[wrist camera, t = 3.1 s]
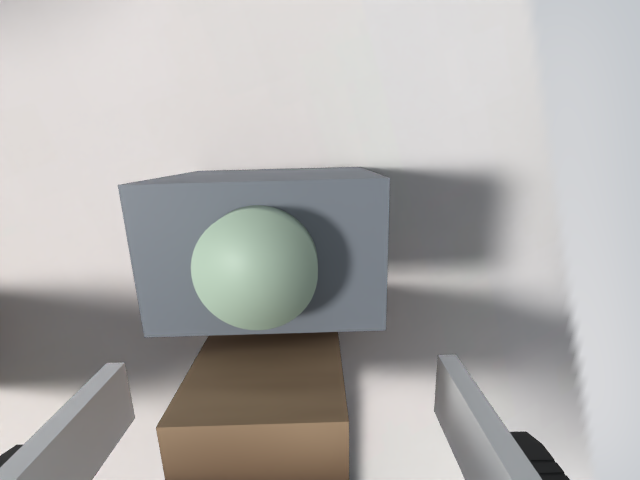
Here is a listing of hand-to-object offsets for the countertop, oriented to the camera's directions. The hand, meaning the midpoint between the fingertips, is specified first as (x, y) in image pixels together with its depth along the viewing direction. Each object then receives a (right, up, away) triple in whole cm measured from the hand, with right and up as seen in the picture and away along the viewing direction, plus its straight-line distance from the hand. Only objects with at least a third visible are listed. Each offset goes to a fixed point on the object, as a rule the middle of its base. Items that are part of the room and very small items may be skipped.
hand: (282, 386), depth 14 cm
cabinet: (0, +7, +3) cm, 8 cm away
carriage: (0, +1, +5) cm, 5 cm away
